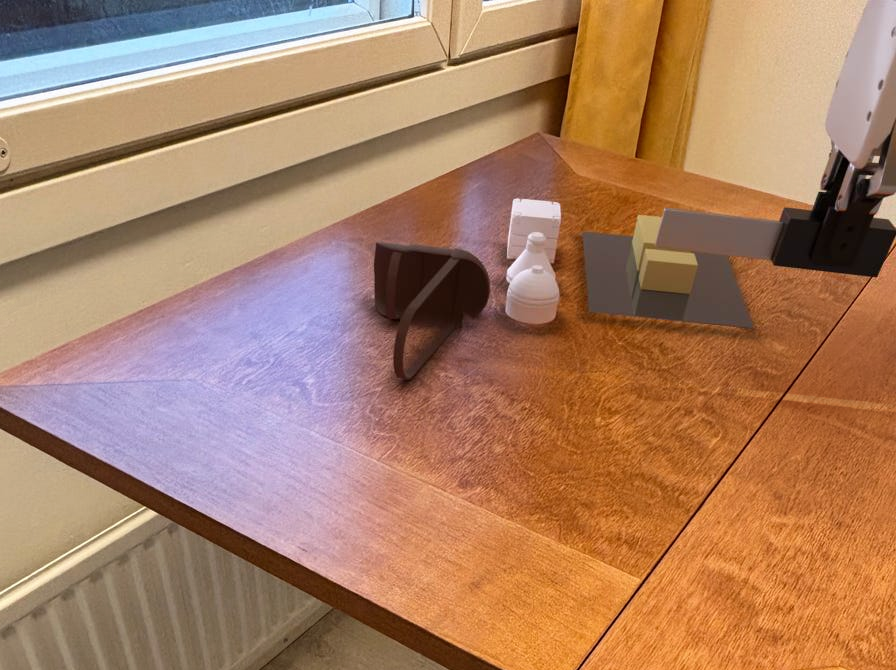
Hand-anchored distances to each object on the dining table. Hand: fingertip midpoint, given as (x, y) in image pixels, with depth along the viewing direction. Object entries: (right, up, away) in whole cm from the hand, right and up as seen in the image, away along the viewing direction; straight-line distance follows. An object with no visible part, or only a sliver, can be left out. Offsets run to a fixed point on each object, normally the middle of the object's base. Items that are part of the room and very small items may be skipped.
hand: (826, 254), depth 68 cm
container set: (-20, +6, +23) cm, 31 cm away
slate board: (-6, +8, +26) cm, 28 cm away
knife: (-4, 0, +1) cm, 4 cm away
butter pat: (-6, +7, +23) cm, 25 cm away
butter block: (-5, +12, +28) cm, 31 cm away
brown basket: (-32, -3, +13) cm, 34 cm away
